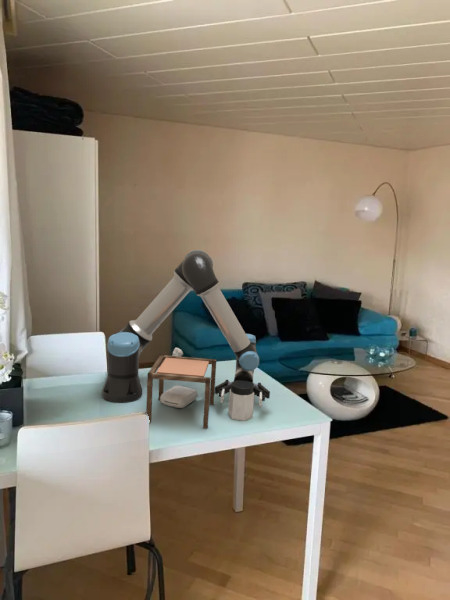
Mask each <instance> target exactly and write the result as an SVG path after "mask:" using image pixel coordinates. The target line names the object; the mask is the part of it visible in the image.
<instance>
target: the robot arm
mask: <svg viewBox="0 0 450 600" xmlns="http://www.w3.org/2000/svg"><path fill="white" fill-rule="evenodd" d="M219 282H220V281H219V280H218V278H217V276H216V274H215V270H214V264H213V259H212V258H211V257H210V255H209V254H207V253H206V251H205V252H204V251H203V250H193V251H190V252H188V253H187V254H186V255H185V257H184V259H182V261H181V262H180V263H179V265H178V266H177V267H176V268H174V271H173V277H172V279H170V281H169V282H168V283H167V284H166V286H165V287H163V289H161V291H160V292H159V293H158V295H156V296H155V297H154V299H153V300H152V301H151V302H150V303H149V304H148V306H147V307H146V308H145V309H143V311H142V313H140V315H139V316H138V317H137V318H136V319H133V320H131V319H130V320H129V322H127V324H126V325H125V326H124V327H123V329H120V331H119V332H116V333H114V334H111V335H110V336H109V338H108V339H107V344H106V347H107V360H106V361H107V368H106V370H107V371H106V373H107V375H106V378H105V381H104V384H103V386H102V390H101V392H102V394H101V396H102V398H103V399H104V400H106V401H109V402H113V403H130V402H134V401H136V400H139V399H141V398H142V397H143V385H142V383H141V379H140V377H139V365H140V364H139V363H140V362H139V360H140V359H139V358H140V356H141V353H142V352H143V350H145V348H146V347H147V345H149V343H151V341H152V340H153V333H154V332H155V331H156V330H157V329H158V328H159V326H161V324H162V323H163V322H164V321H165V320H166V319H167V318H168V316H169V315H170V314H171V313H173V311H175V309H176V308H177V306H179V304H180V303H181V302H182V301H183V300H184V299H185V297H186V296H187V295H188V294H189V293H190V292H191V291H194V293H195V295H196V296H198V297H200V298H201V300H202V301H203V303H204V305H205V306H206V308H207V309H208V311H209V312H210V315H211V316H212V318H213V320H214V321H215V323H216V324H217V327H218V328H219V330H220V332H221V334H222V335H223V336H224V338H225V339H226V341H227V343H228V344H229V347H230V348H231V349H232V351H233V353H234V355H235V357H236V359H235V360H236V361H235V372H234V378H233V381H238V380H243V381H248V382H251V383H252V384H253V385H254V389H253V392H254V396H257V397H259V398H258V406H259V407H262V405H263V404H262V403H263V402H265V401H266V399H270V396H271V391H270V390H269V389H268V388H266V387H265V386H264V385H263V384H262V383H261V382H257V383H256V384H255V383H254V372H255V370H256V369H257V368H258V366H259V365H260V356H259V354H258V352H257V348H256V344H257V342H256V341H257V339H256V335H253V334H251V333H246V332H245V330H244V329H243V326H242V325H241V323H240V322H239V320H238V318H237V316H236V315H235V313H234V311H233V310H232V307H231V306H230V304H229V302H228V301H227V299H226V298H225V295H224V294H223V292H222V290H221V288H220V287H219ZM233 381H232V382H233ZM232 382H231V381H230V380H229V379H225V380H224V381H223V382H221V383H220V384H218V385H215V392H214V395H218V397H219V398H220V403H221V404H223V402H224V399H225V395H226V394H229V393H230V389H231V383H232Z"/></svg>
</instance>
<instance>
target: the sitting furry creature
mask: <svg viewBox="0 0 450 600" xmlns="http://www.w3.org/2000/svg"><path fill="white" fill-rule="evenodd" d="M183 355H184V352H183V350H182V349H180V348H179V347H175V348H174V349H173V351H172V354H171V356H179V357H183Z"/></svg>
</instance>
